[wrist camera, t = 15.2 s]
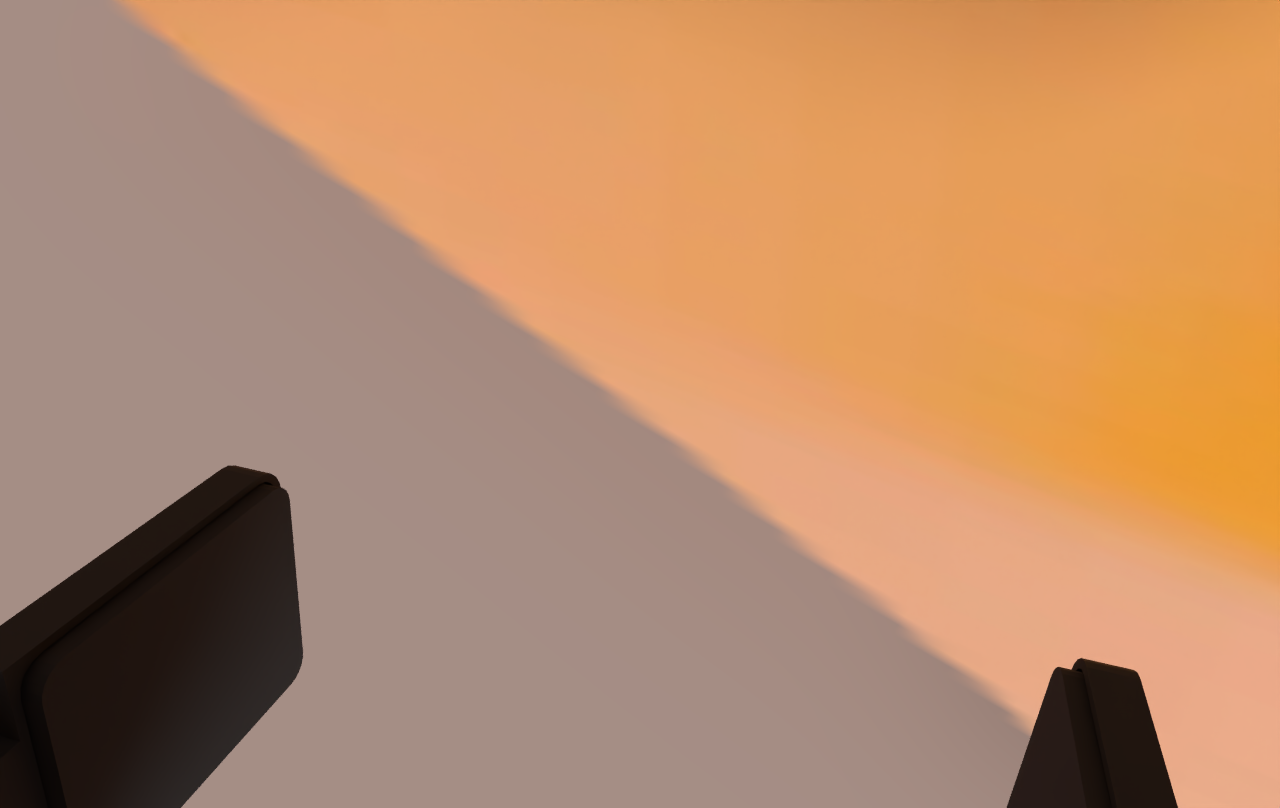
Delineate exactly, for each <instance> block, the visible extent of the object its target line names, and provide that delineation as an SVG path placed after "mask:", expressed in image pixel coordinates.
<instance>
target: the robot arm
mask: <svg viewBox="0 0 1280 808" xmlns="http://www.w3.org/2000/svg"><path fill="white" fill-rule="evenodd" d="M302 659H303V647H302V636H301V625H300V613H299V601H298V591H297V579H296V568H295V556H294V544H293V532H292V521H291V510H290V499H289V495H288V493H287V491H286V490H284V489H283V488H281V487H280V483H279V481H278V479H277V478H276V477H275V476H274V475H272V474H270V473H265V472H261V471H256V470H252V469H248V468H243V467H239V466H227V467H225V468H223V469H221V470H220V471H218V472H217V473H215V474H214V475H212V476H211V477H210V478H208V479H207V480H206V481H204V482H203V483H201V484H200V485H198V486H197V487H196V488H194V489H193V490H191V491H190V492H189V493H187V494H186V495H184V496H183V497H181V498H180V499H179V500H177V501H176V502H174V503H173V504H172V505H170V506H169V507H167V508H166V509H164V510H163V511H162V512H160V513H159V514H157V515H156V516H155V517H153V518H152V519H150V520H149V521H148V522H146V523H145V524H144V525H142V526H140V527H139V528H138V529H136V530H135V531H133V532H132V533H131V534H129V535H128V536H126V537H125V538H124V539H122V540H121V541H119V542H118V543H116V544H115V545H114V546H112V547H111V548H110V549H108V550H107V551H105V552H104V553H102V554H101V555H99V556H98V557H97V558H95V559H94V560H93V561H91V562H90V563H88V564H87V565H86V566H84V567H83V568H81V569H80V570H78V571H77V572H76V573H74V574H73V575H71V576H70V577H68V578H67V579H66V580H64V581H63V582H61V583H60V584H59V585H57V586H56V587H54V588H53V589H51V591H49V592H47V593H46V594H44V595H43V596H42V597H40V598H39V599H37V600H36V601H35V602H33V603H32V604H30V605H29V606H27V607H26V608H25V609H23V610H22V611H20V612H19V613H18V614H16V615H15V616H13V617H12V618H11V619H9V620H8V621H6V622H5V623H4V624H2V625H1V626H0V808H181V807H182V806H183V805H184V804H185V802H186V801H187V800H188V799H189V798H190V797H191V796H192V795H193V793H194V792H195V791H196V790H197V789H198V787H200V786H201V784H202V783H203V782H204V781H205V780H206V779H207V778H208V777H209V775H210V774H211V773H212V772H213V771H214V770H215V769H216V768H217V767H218V765H219V764H220V763H221V762H222V761H223V760H224V759H225V758H226V756H227V755H228V754H229V753H230V752H231V751H232V750H233V749H234V748H235V746H236V745H237V744H238V743H239V742H240V741H241V740H242V739H243V737H244V736H245V735H246V734H247V733H248V732H249V731H250V730H251V728H252V727H253V726H254V725H255V724H256V723H257V722H258V721H259V720H260V718H261V717H262V716H263V715H264V714H265V713H266V712H267V710H268V709H269V708H270V707H271V706H272V705H273V704H274V703H275V702H276V700H277V699H278V698H279V697H280V696H281V695H282V694H283V693H284V692H285V690H286V689H287V688H288V687H289V686H290V685H291V684H292V682H293V680H295V678H296V676H297V674H298V672H299V670H300V667H301V664H302ZM1007 808H1178V806H1177V803H1176V799H1175V796H1174V793H1173V789H1172V786H1171V782H1170V779H1169V775H1168V772H1167V769H1166V765H1165V762H1164V758H1163V755H1162V751H1161V748H1160V744H1159V741H1158V738H1157V734H1156V731H1155V727H1154V724H1153V720H1152V717H1151V714H1150V710H1149V707H1148V703H1147V700H1146V696H1145V693H1144V690H1143V686H1142V683H1141V679H1140V677H1139V675H1138V673H1137V672H1136V671H1134V670H1131V669H1127V668H1122V667H1118V666H1113V665H1109V664H1105V663H1100V662H1096V661H1091V660H1087V659H1083V658H1080V659H1078V660H1077V661H1076V662H1075V664H1074V665H1073V668H1072V670H1070V669H1066V668H1061V667H1057V668H1056V669H1055V670H1054V671H1053V674H1052V676H1051V679H1050V682H1049V685H1048V688H1047V691H1046V694H1045V696H1044V699H1043V702H1042V705H1041V708H1040V711H1039V714H1038V717H1037V720H1036V723H1035V726H1034V729H1033V732H1032V735H1031V738H1030V741H1029V744H1028V746H1027V750H1026V752H1025V755H1024V758H1023V761H1022V764H1021V767H1020V770H1019V773H1018V776H1017V779H1016V782H1015V785H1014V788H1013V791H1012V794H1011V796H1010V800H1009V803H1008V805H1007Z"/></svg>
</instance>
